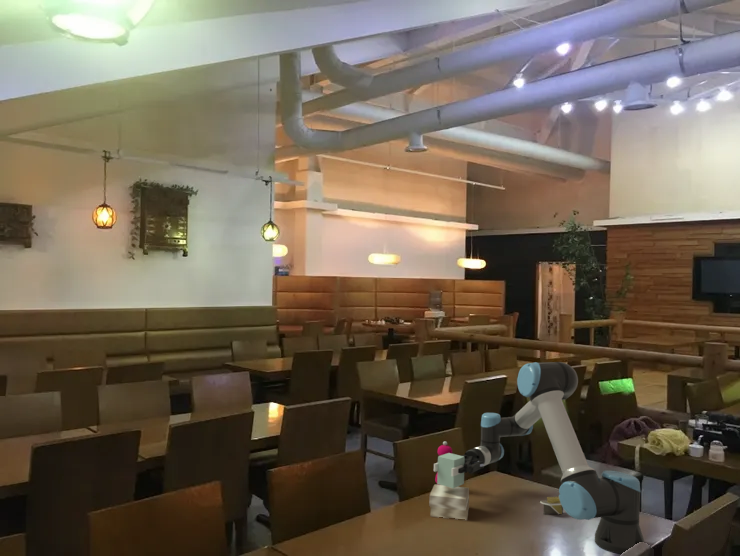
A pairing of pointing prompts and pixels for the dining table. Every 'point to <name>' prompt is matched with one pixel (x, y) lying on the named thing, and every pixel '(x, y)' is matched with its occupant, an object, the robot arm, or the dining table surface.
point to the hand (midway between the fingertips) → (443, 470)
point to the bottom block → (449, 512)
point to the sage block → (444, 470)
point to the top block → (449, 497)
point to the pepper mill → (441, 451)
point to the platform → (552, 506)
